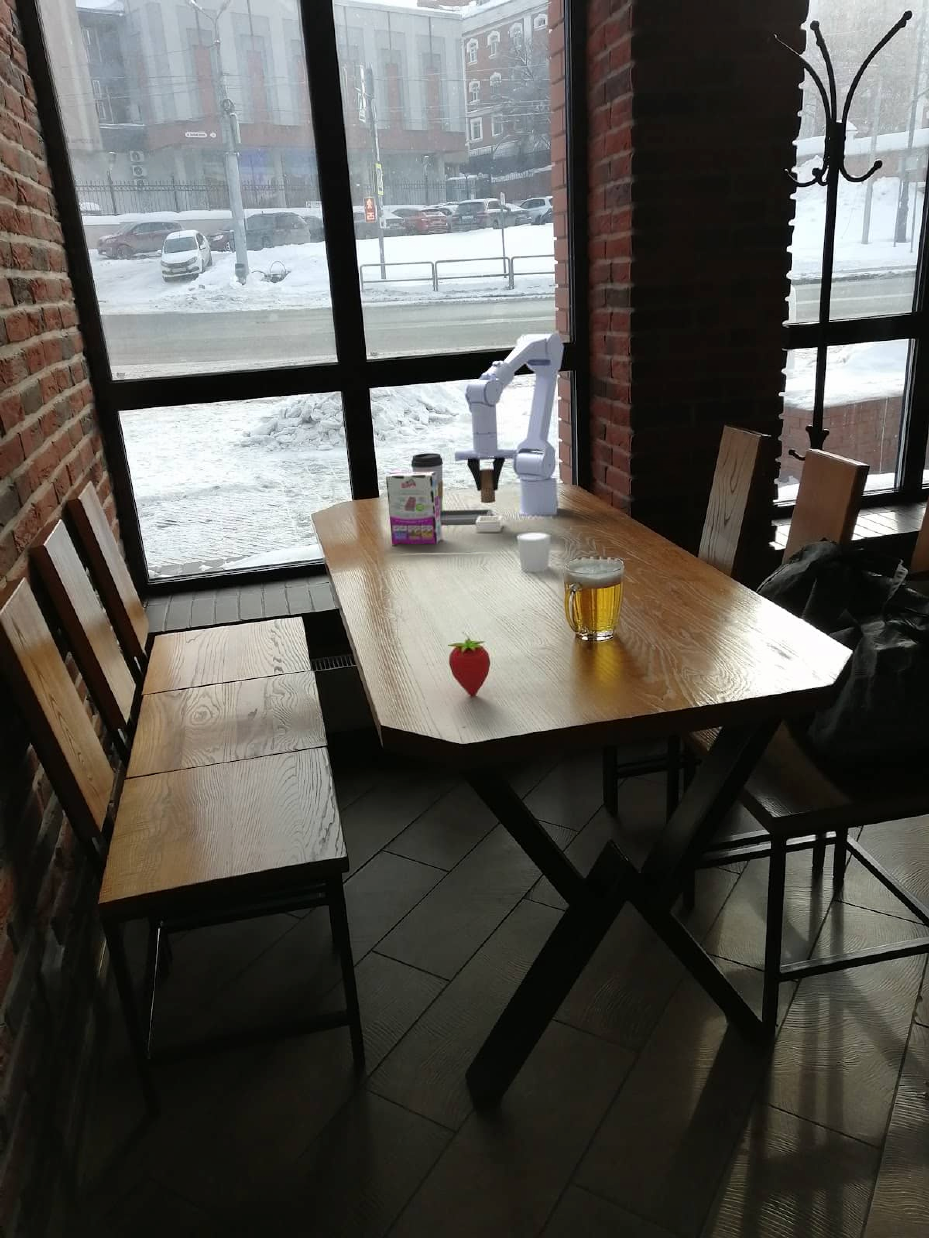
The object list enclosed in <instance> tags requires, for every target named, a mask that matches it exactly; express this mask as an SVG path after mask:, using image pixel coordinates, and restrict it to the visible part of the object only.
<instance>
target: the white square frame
mask: <svg viewBox="0 0 929 1238" xmlns="http://www.w3.org/2000/svg"><path fill="white" fill-rule="evenodd" d="M503 525H504V524H503V515H492V516H478V518H477V520H476V524H475V533H495V532H496V533H497V532H498V533H499V532H502V529H503Z"/></svg>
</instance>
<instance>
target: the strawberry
mask: <svg viewBox="0 0 929 1238" xmlns="http://www.w3.org/2000/svg"><path fill="white" fill-rule="evenodd" d="M461 633H462V634H463V635H465V636H466V637H467V639H465V641H464V642H454V643H452V644H451V643H450V644H448V645H447V646H448V647H454V648H453V649H452V650H451V652H450V653H449V657H448V664H449V668H450V670H451V673H452V675H453V677H454V678H455V680H456V681H457V683H458V684H459V685H460V687H462V688H463V689H464V691H465V692H466V694H468V695H469V696H471V697H474V696H476V695H477V694H478V692H479V690H480V689H481V687H482V686H483V684H484V683H485V681H486V679H487V677H488V675H489V671H490V666H491V660H490V654H489V652H487V650H486V649H485V646H482V645H481V644H483V643H485V640H482V641H481V640H480V641H479V640H478V641H475V640H471V638H470V637H469V636H468V635H467V634H466V633H465V632H464V631H461Z"/></svg>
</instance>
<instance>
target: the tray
mask: <svg viewBox="0 0 929 1238" xmlns="http://www.w3.org/2000/svg"><path fill="white" fill-rule="evenodd" d="M491 515H492V516H493V509H492V508H489V509H459V510H458V509H450V510H449V509H448V510H447V509H446V510H443V509H442V510H441V511H440V519H441V526H445V525H448V526H449V524H450V525H452V524H453V525H476V520H477V518H478V516H491Z"/></svg>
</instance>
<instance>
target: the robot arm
mask: <svg viewBox="0 0 929 1238" xmlns="http://www.w3.org/2000/svg"><path fill="white" fill-rule="evenodd" d="M564 348H565V345H564V344H563V341H562V338H561V336H560V335H559V334H558V333H557V332H556V333H555V332H553V333H532V334H529V333H523V334H522V335H521V336H520V337H519V338H518V339H516V347H514V349H512V351H511V352H510V353H509V355H508V356H506V358H505V359H504V360H499V361H497V360H496V361H493V362H492V365H491V367H489V368H488V370H487V371H485V372H483V373H482V374H481V376H480V377H479V378H478V379H472V380H471V381H470V382H469V383H468V384H467V386H466V389H465V393H464V397H465V400H466V403H467V404H468V410H469V413H471V427H472V429H471V430H472V445H473V446H472V447H473V449H472V450H463V451H461V450H460V451H454V461H455V462H460V461H467V463H466V465H467V468H468V469H469V470H470V473H471V474H472V475H471V476H473V480H474V481H475V487H476V490H477V492H481V489H480V470H481V460H483V461H484V460H485V461H486V460H493V461H492V468H493V469H494V491H495V492H496V491H498V490H499V483H500V477H501V472H502V469H503V467H504V464H505V461H506V460H510V459H511V460H512V469H513V472H514V474H516V475H517V479H519V481H520V482H519V483H520V503H521V505H520V509H519V512H518V515H519V516H546V515H547V516H550V515H552V516H553V515H557V512H558V508H559V499H558V481H557V478H556V477H552V476H553V474H554V472H555V470H556V464H557V463H556V449H555V446H553V445H552V444H551V443H550V442H549V441H548V440H549V439H548V438H549V433H550V425H551V421H552V412H553V407H554V400H555V395H556V387H557V382H558V381H557V380H558V374H559V371H560V370H561V366H562V360H563V355H564ZM524 365H526V366H527V368H528V369H529V370H530V371H533V373H534V374H535V381H534V382H535V383H534V388H533V394H532V400H531V401H532V402H531V408H530V414H529V420H528V427H527V432H526V433H527V434H526V438H524V439H523V440H522V441H521V442H519V443H518V445H517V447H516V449H507V448H506V449H503V448H502V449H501V448H500V449H499V447H498V443H499V442H498V426H497V425H498V424H497V423H498V421H497V404H498V403H499V402H500V400H501V396H502V394H503V393H504V389H506V388H507V387H508V386H509V385H510V384H511V383H512V382H513V380H514V378H515V372H516V371H517V370H519V369H520V368H521V367H522V366H524Z"/></svg>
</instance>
